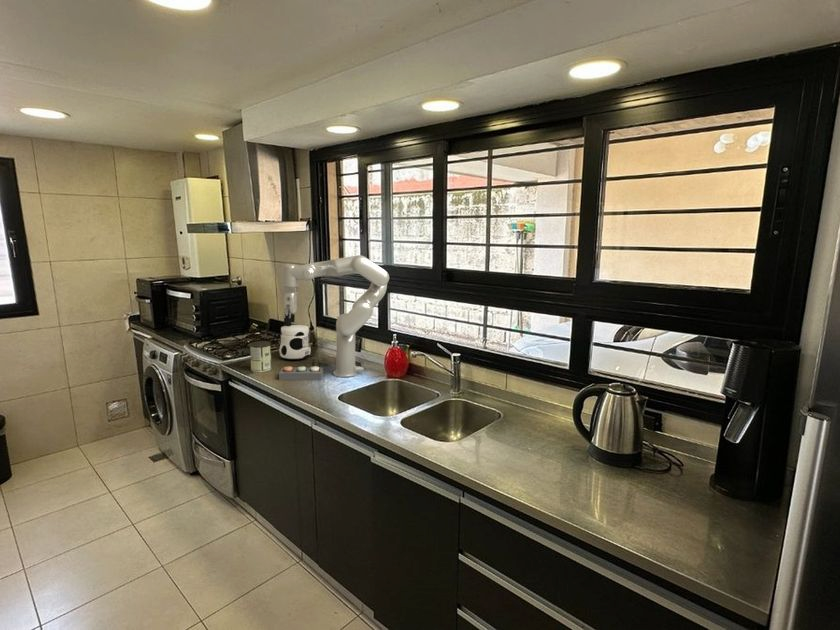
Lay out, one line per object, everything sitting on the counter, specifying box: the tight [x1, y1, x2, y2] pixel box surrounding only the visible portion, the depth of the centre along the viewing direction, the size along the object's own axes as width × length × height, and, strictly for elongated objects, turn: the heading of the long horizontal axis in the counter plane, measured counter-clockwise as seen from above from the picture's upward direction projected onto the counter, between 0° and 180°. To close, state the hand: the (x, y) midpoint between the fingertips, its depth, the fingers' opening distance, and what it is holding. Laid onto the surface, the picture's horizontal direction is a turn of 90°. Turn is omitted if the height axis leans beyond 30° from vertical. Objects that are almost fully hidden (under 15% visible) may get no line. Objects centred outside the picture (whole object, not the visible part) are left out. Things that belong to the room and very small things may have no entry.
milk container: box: [278, 324, 312, 361], centre depth 248 cm, size 17×17×18 cm
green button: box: [296, 365, 306, 372], centre depth 216 cm, size 4×4×2 cm
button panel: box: [278, 366, 324, 381], centre depth 216 cm, size 20×10×4 cm, turn 97°
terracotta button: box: [283, 365, 293, 372], centre depth 215 cm, size 4×4×2 cm
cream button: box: [310, 365, 319, 372], centre depth 217 cm, size 4×4×2 cm
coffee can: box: [249, 340, 272, 373], centre depth 225 cm, size 10×10×14 cm
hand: (289, 324), depth 213 cm, fingers open, 9 cm apart
